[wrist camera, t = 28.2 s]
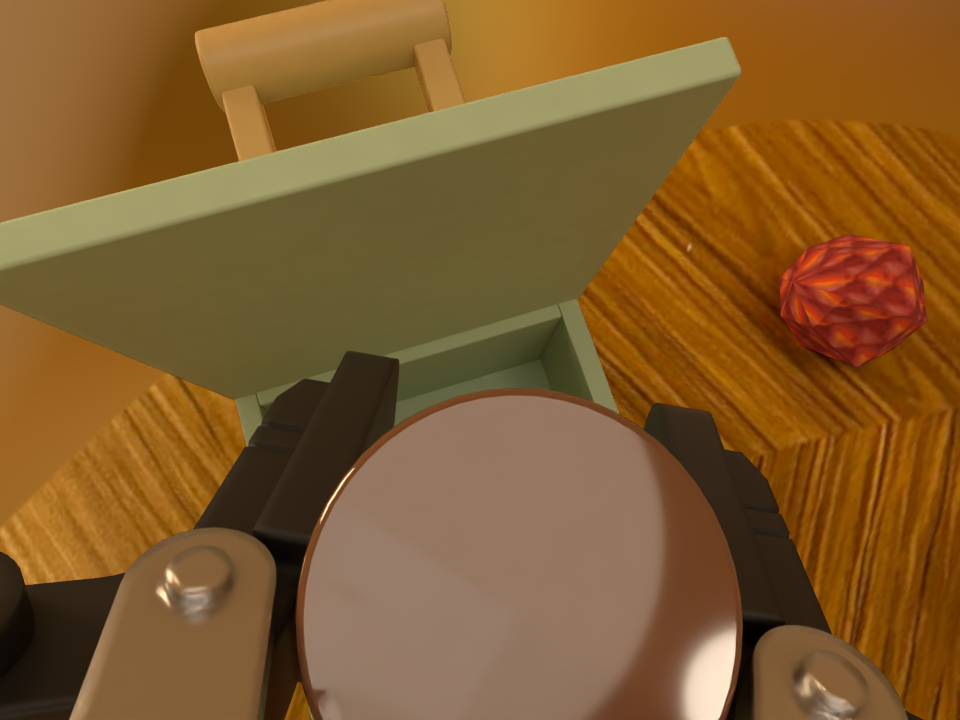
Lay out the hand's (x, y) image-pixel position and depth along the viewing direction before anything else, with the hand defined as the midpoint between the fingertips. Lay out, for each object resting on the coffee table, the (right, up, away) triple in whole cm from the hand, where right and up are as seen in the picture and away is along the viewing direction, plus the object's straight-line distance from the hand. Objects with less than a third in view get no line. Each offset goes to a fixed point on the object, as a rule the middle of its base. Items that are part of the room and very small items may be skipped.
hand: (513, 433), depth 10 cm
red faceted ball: (+17, +3, +25) cm, 31 cm away
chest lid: (-3, +3, +8) cm, 9 cm away
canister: (-1, -3, +5) cm, 6 cm away
